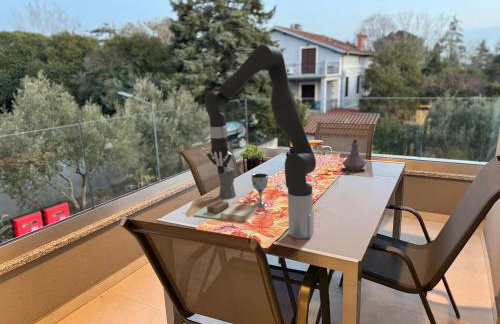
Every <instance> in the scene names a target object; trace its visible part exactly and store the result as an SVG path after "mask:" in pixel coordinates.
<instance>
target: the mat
mask: <svg viewBox="0 0 500 324" xmlns="http://www.w3.org/2000/svg"><path fill="white" fill-rule="evenodd" d="M211 204H212V202H211V203H209V204H208V203H207V205H205V206H204V207H202V208H201V209H200V210H198V211H196V212H195V213H194V214H192V215H193V217H199V218H204V219H205V218H206V219H212V220H213V219H214V220H221V213H222V212H221V213H219V214H213V213H208V212H207V206H209V205H211ZM229 206H231V204H230V205H229Z"/></svg>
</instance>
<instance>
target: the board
mask: <svg viewBox="0 0 500 324" xmlns="http://www.w3.org/2000/svg"><path fill="white" fill-rule="evenodd" d="M257 209H258V207H257V205H254V204H244V203H238V202H237V203H236V202H233V203H232V204H230V206H229V207H228V208H227V209H226V210H224V211H223V212H222V213H221V219H222V220H227V221H228V220H231V221H236V222H247V220H249V219H250V218H251V217H252V216H253V215H254V214H255V213H256V212H257ZM221 219H220V220H221Z"/></svg>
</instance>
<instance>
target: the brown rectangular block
mask: <svg viewBox="0 0 500 324" xmlns="http://www.w3.org/2000/svg"><path fill="white" fill-rule="evenodd" d="M206 206H207V205H206ZM228 207H229V202H228V201H224V200H217V201H215V202H213V203H211V205H209V206H207V212H208V213H213V214H219V213H221V212H223V211H224V210H226V209H227V208H228Z"/></svg>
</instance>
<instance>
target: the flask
mask: <svg viewBox="0 0 500 324" xmlns="http://www.w3.org/2000/svg"><path fill="white" fill-rule="evenodd" d="M350 145H351V151H350V154H349V155H348V157H346V159H345V160H344V161H343V162H341V164H342V165H343V166H344V167H345V169H346V170H348V171H350V170H354V171H353V172H358V171H357V170H360V171H361V170H363V168H364V167H365V166H366V165H367V163H368V162H367V161H366V160H365V159H364V158H363V157H362V156H361V154H360V152H359V143H358V139H353V140H352V143H351V144H350Z"/></svg>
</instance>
